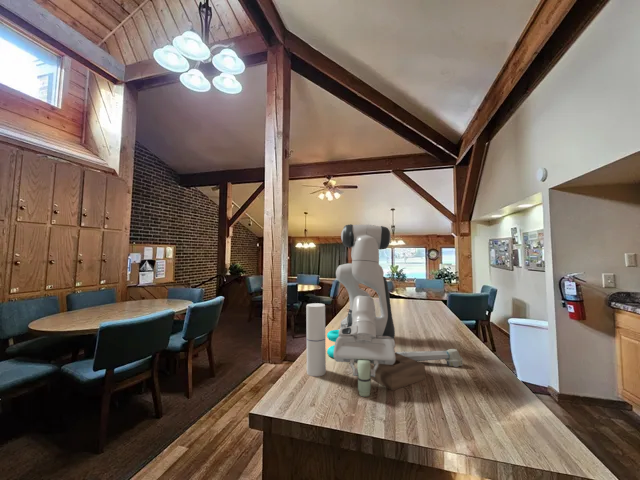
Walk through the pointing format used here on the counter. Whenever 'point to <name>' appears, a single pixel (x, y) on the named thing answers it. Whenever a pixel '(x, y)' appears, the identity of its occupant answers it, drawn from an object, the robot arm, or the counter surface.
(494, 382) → the counter surface
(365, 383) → the peg
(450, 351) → the white handheld wand
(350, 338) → the robot arm
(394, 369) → the socket block
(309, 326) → the cylindrical container
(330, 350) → the donuts
